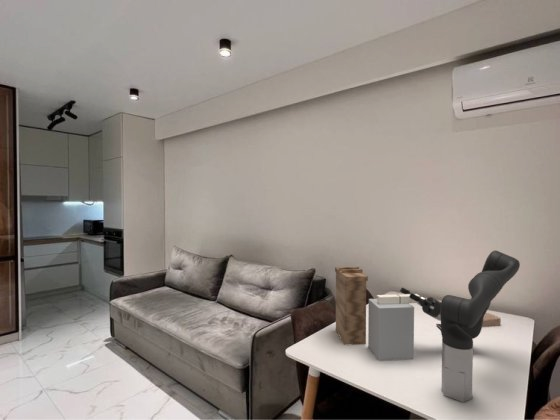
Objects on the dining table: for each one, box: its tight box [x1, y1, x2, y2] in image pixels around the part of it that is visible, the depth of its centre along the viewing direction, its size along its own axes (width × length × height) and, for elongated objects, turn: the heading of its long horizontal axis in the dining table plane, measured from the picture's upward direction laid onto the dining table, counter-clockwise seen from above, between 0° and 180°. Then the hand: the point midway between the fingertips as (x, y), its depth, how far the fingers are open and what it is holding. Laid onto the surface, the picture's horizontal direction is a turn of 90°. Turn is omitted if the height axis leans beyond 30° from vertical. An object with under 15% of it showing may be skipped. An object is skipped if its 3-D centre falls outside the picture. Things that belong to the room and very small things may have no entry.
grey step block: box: [367, 298, 415, 362], centre depth 135 cm, size 15×12×22 cm
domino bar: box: [376, 293, 421, 304], centre depth 135 cm, size 18×3×3 cm, turn 94°
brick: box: [482, 312, 502, 328], centre depth 166 cm, size 16×8×5 cm, turn 99°
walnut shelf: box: [334, 266, 369, 345], centre depth 151 cm, size 10×20×34 cm, turn 4°
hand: (405, 292), depth 135 cm, fingers open, 8 cm apart
